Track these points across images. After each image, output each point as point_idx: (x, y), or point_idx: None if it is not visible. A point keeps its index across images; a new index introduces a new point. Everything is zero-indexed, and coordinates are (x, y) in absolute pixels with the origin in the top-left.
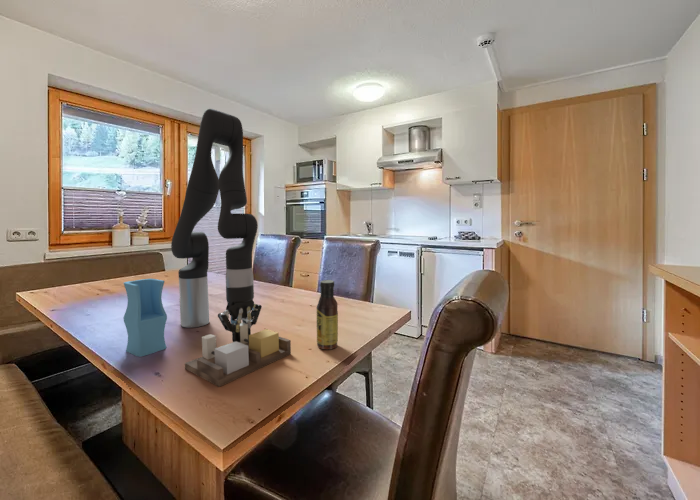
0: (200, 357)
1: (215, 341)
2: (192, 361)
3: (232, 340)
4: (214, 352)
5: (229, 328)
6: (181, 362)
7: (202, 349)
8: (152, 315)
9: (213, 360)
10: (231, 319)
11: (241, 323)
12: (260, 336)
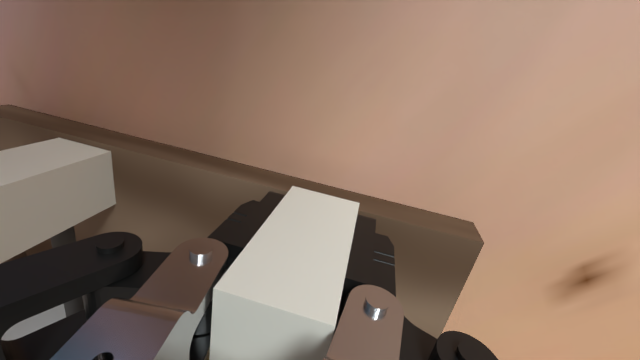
0: (48, 130)
1: (6, 255)
2: (3, 131)
3: (241, 205)
4: (51, 243)
5: (67, 337)
6: (12, 5)
7: (1, 153)
8: None
9: (83, 224)
10: (82, 351)
11: (294, 337)
12: None
